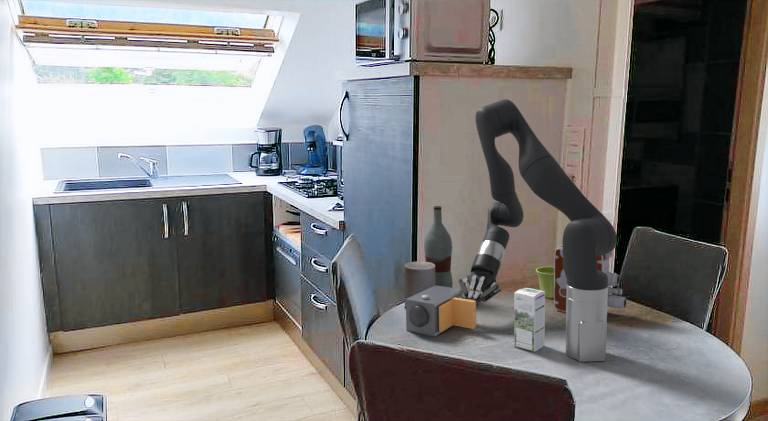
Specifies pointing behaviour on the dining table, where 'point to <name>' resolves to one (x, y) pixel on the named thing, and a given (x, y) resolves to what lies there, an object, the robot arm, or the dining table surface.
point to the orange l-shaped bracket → (457, 314)
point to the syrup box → (529, 319)
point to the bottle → (439, 250)
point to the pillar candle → (418, 277)
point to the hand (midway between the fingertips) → (469, 312)
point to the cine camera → (602, 265)
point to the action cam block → (428, 309)
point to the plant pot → (546, 280)
